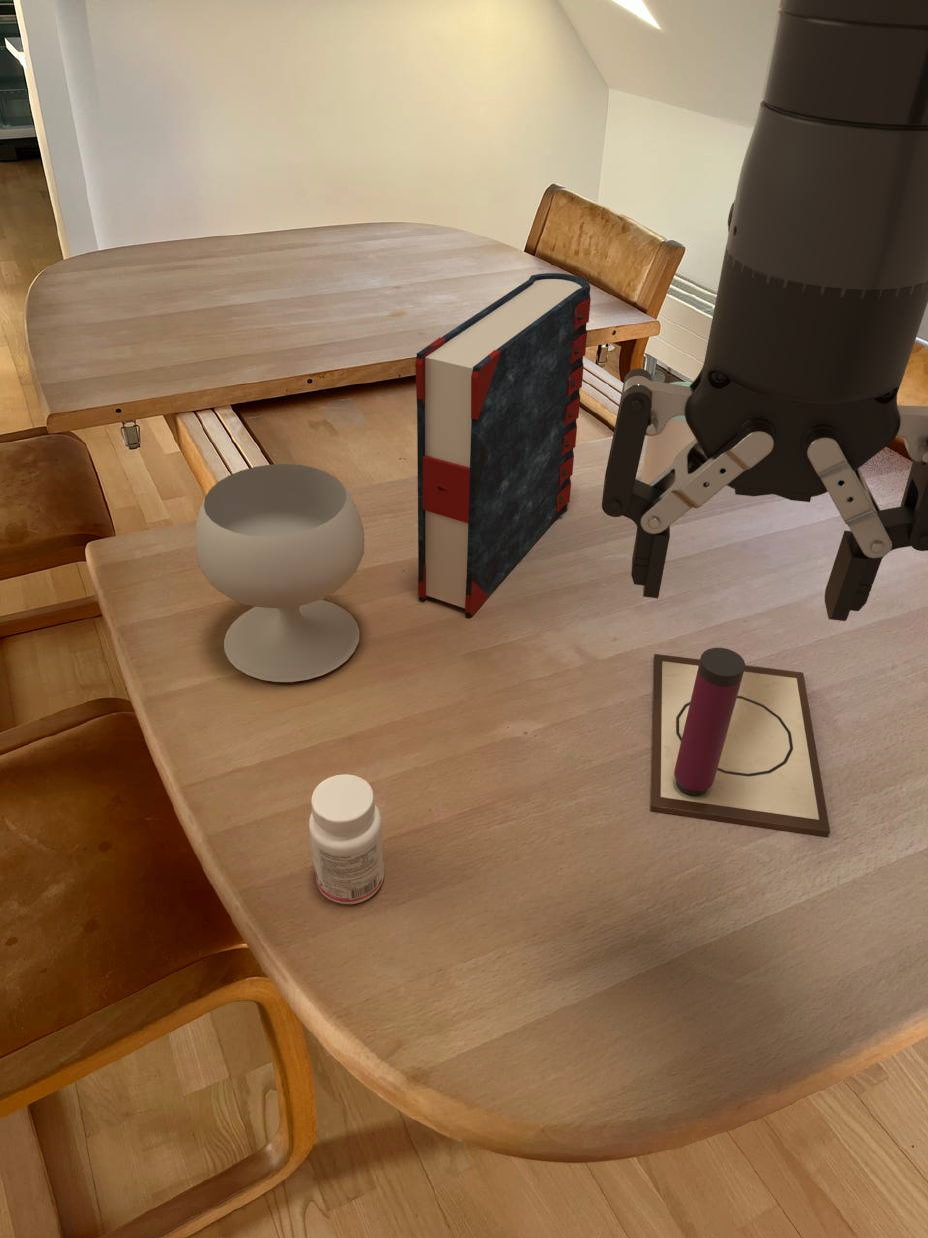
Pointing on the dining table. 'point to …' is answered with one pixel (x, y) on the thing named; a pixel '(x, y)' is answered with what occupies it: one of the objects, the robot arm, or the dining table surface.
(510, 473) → the book
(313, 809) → the pill bottle
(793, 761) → the pad
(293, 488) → the chalice
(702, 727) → the marker
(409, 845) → the dining table surface
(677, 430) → the can
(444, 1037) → the dining table surface
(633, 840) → the dining table surface
